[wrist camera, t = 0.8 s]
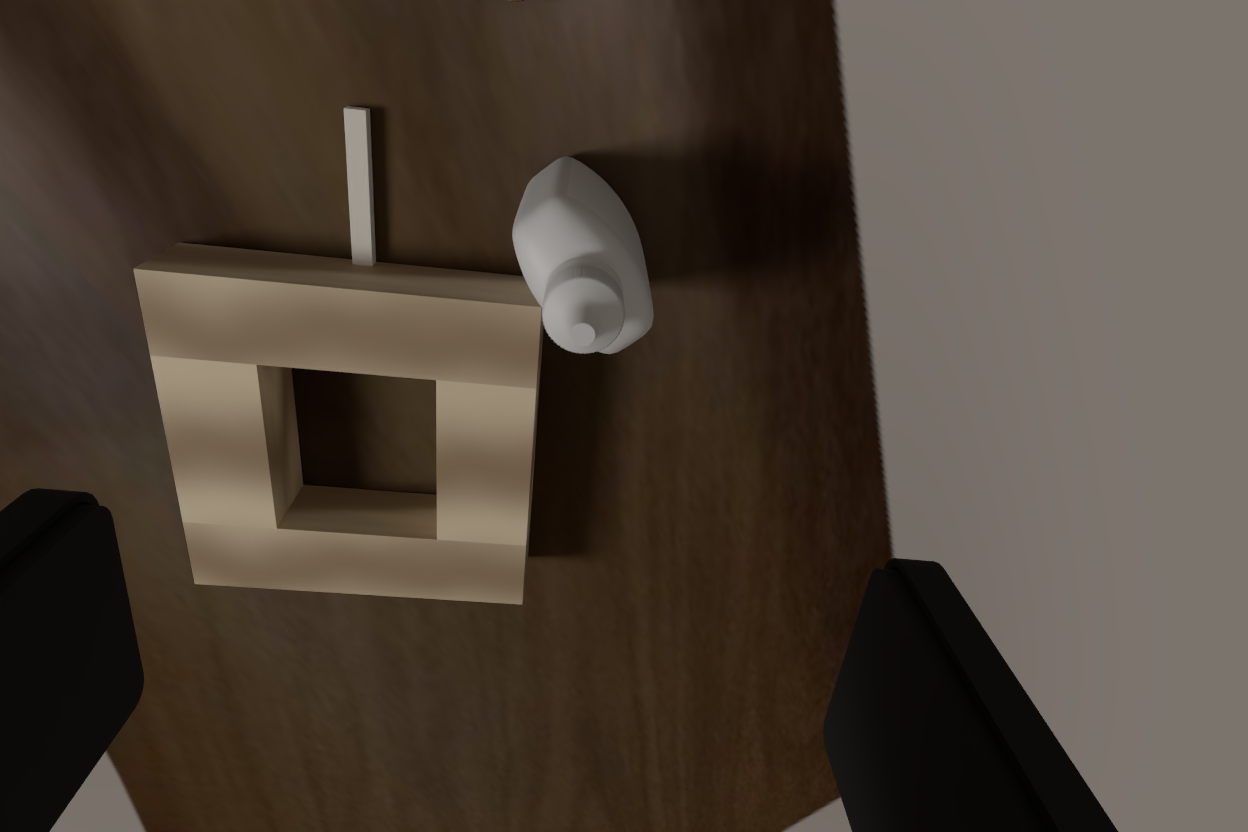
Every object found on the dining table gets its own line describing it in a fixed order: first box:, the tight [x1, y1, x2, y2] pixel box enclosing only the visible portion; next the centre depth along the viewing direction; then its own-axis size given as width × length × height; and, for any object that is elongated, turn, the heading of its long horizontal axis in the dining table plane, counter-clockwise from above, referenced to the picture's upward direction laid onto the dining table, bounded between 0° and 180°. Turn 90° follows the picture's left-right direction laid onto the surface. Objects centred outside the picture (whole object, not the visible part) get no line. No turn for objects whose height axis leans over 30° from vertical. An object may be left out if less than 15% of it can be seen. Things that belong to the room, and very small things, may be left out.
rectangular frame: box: [134, 243, 544, 604], centre depth 34 cm, size 15×15×4 cm
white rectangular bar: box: [344, 106, 376, 266], centre depth 30 cm, size 6×1×1 cm, turn 174°
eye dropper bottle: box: [512, 156, 654, 354], centre depth 26 cm, size 4×6×12 cm
